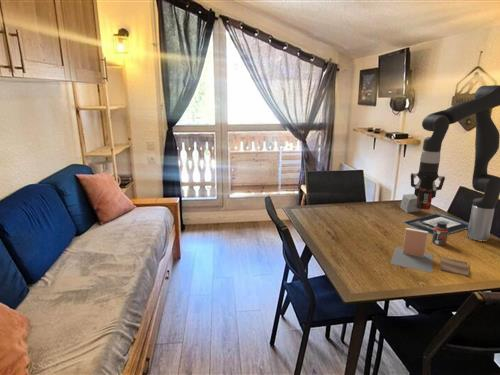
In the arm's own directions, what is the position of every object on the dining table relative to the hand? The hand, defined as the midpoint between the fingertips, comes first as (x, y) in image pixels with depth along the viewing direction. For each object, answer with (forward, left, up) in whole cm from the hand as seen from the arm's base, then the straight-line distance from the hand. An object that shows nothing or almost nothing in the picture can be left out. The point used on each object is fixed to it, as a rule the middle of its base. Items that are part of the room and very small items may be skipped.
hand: (424, 196), depth 151 cm
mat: (+14, -1, -26) cm, 29 cm away
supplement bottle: (-10, +9, -26) cm, 29 cm away
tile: (+9, -1, -25) cm, 27 cm away
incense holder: (-55, -7, -26) cm, 62 cm away
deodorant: (0, 0, -5) cm, 5 cm away
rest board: (+13, +15, -26) cm, 32 cm away
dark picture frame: (-38, +8, -27) cm, 47 cm away
